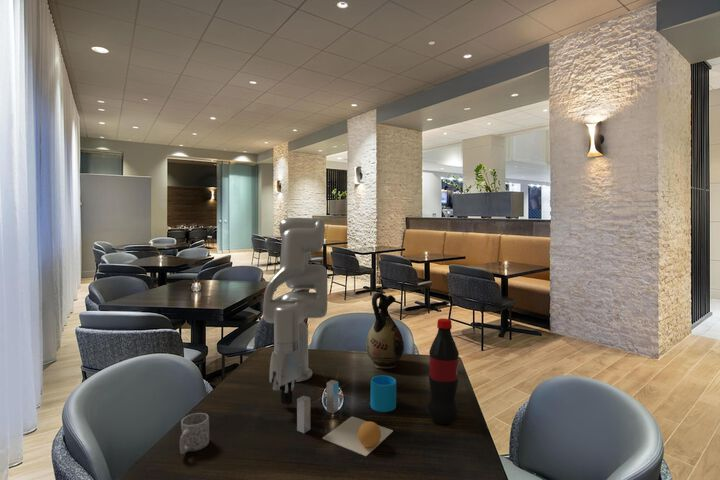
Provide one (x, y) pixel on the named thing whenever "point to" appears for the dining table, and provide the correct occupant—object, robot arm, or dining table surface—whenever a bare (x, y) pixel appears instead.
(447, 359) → the cola bottle
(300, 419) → the post
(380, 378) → the mug
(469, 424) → the dining table surface
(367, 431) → the ball
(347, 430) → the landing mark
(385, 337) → the ceramic jug
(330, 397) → the post
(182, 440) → the mug
